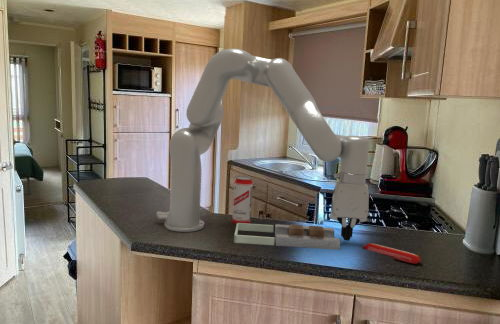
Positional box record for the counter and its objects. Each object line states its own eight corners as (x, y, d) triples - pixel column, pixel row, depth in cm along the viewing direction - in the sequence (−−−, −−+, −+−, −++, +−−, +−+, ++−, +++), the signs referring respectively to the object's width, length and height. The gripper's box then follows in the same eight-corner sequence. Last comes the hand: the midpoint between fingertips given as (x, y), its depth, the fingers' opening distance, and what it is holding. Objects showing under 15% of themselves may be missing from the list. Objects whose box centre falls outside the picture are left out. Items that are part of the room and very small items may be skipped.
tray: (233, 245, 112) (234, 235, 112) (236, 232, 124) (237, 222, 124) (273, 248, 112) (274, 238, 112) (272, 234, 124) (273, 225, 124)
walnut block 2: (309, 242, 116) (310, 229, 115) (308, 238, 120) (309, 225, 119) (323, 243, 116) (324, 230, 115) (321, 239, 119) (322, 226, 119)
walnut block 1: (289, 241, 116) (290, 228, 115) (288, 236, 120) (289, 224, 119) (302, 242, 116) (303, 229, 115) (301, 237, 120) (302, 225, 119)
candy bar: (422, 264, 108) (424, 253, 108) (419, 268, 105) (421, 257, 105) (365, 249, 117) (366, 239, 117) (361, 252, 114) (362, 242, 114)
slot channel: (275, 248, 112) (276, 236, 112) (274, 234, 124) (275, 224, 123) (339, 253, 112) (340, 241, 111) (332, 238, 123) (333, 228, 123)
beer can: (248, 228, 129) (251, 180, 127) (229, 226, 130) (232, 178, 128) (252, 222, 135) (255, 177, 133) (234, 220, 136) (236, 175, 134)
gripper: (328, 179, 111) (322, 241, 114) (381, 182, 111) (374, 245, 113) (324, 174, 118) (319, 233, 121) (374, 177, 118) (368, 236, 121)
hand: (346, 239), depth 117 cm, fingers closed
